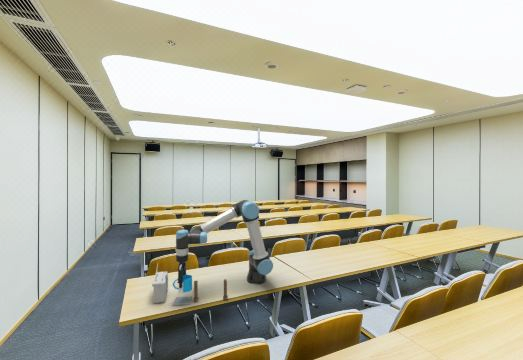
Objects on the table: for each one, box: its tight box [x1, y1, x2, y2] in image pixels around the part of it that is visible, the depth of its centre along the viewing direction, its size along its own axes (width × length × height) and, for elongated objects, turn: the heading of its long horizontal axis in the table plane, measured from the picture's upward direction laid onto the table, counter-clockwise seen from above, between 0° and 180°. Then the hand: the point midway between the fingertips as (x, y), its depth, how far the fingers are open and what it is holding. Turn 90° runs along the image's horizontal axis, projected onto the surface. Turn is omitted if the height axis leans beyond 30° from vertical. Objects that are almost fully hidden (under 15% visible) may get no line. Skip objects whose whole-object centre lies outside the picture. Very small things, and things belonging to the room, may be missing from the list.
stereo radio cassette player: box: [151, 262, 169, 304], centre depth 167 cm, size 21×8×20 cm, turn 17°
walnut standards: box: [192, 278, 229, 303], centre depth 163 cm, size 22×4×13 cm, turn 97°
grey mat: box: [172, 296, 192, 307], centre depth 161 cm, size 10×10×1 cm
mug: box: [172, 274, 193, 294], centre depth 160 cm, size 12×8×8 cm
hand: (182, 289), depth 161 cm, fingers closed on mug, 8 cm apart
